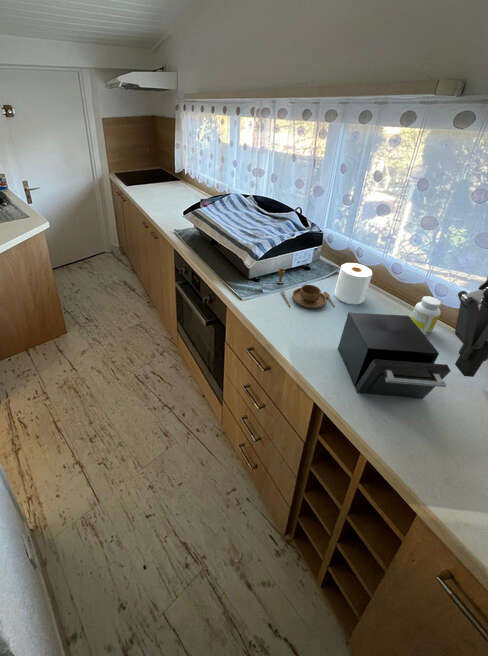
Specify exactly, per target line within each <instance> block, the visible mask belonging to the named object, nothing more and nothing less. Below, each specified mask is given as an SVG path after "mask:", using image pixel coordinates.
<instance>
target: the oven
mask: <svg viewBox="0 0 488 656" xmlns="http://www.w3.org/2000/svg"><path fill="white" fill-rule="evenodd" d="M337 350H338V352H339V354H340V357H341V359H342V362H343V364H344V366H345V368H346V371H347V373H348V376H349V378H350V380H351V383H352V385H353V387H354V388H355V387H356V385H357V384H358V382H359V381H360V379H361V378H362V376H363V375H364V373H365V372H366V370H367V368H368V367H369V365H370V364H371V362H372V361H373V359H378V360H392V361H405V362H418V363H431V364H436V361H437V359H438V357H439V356H440V353H439V351H438V350H437V348H436V347H435V346H434V345H433V343H431V341H430V340H429V339H428V338H427V335H424V334H423V333H422V332H421V330H420V329H419V328H418V327H417V325H416V324H415V323H414V322H413V320H412V319H411V316H410V315H403V314H402V315H401V314H384V313H371V312H370V313H368V312H367V313H366V312H353V311H351V312H350V311H349V312H348V313H347V315H346V319H345V323H344V326H343V329H342V333H341V336H340V340H339V343H338V347H337Z"/></svg>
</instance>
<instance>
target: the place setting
mask: <svg viewBox="0 0 488 656" xmlns="http://www.w3.org/2000/svg"><path fill="white" fill-rule="evenodd" d="M277 273H278V274H277V275H278V276H279V278H278V280H279V282H282V281H283V277H284V276H285V273H286V270H285V269H284V268H279V269H278V271H277ZM280 294H281V296H282V297H283V298H284V300H285V301H286V304H287V306H288V307H289V308H291V305H290V303H289V301H288V299H287V296H286V292H285V290H280ZM292 299H293V300H294V302H295V303H296V304H298V305H299V306H301V307H304V308H306V309H307V308H308V309H314V310H315V309H319V308H322V307H324V306H325V305H326V303H327V299H328V301H329V302H330V304H331V306H332V307H333V308H335V307H336V305H335V304H334V303H333V301H332V300H331V298H330V294H329V293H328V292H326V291H324V292H322V290H321V289H320V288H319V287H318V286H317V285H313V284H303V285H302V286H301V287H299V288H295V289H294V290H293V291H292Z"/></svg>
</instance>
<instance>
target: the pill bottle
mask: <svg viewBox="0 0 488 656" xmlns="http://www.w3.org/2000/svg"><path fill="white" fill-rule="evenodd" d="M441 305H442V302H441V300H439V299H438V298H436V297H433V296H430V295H426V296H425V295H424V296H423V297H422V298H421V300H420V302H417V303H416V305H415V306H414V308H413V311H412V313H411V315H410V318H411V319H412V320H413V322H414V323H415V324H416V325H417V327H418V328H419V329H420V330H421V332H422V333H423V334H424V335H425V336H428V335H431V334H432V333H433V331H434V328H435V326H436V324H437V322H438V321H439V318H440V315H441V312H442V311H441V309H440V307H441Z"/></svg>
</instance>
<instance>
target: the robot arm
mask: <svg viewBox="0 0 488 656" xmlns="http://www.w3.org/2000/svg"><path fill="white" fill-rule="evenodd" d="M457 297H458V300H459V302H460V303H459V308H458V313H457V319H456V325H455V329H454V330H455V331H454V335H455V336H456V337H457V338H458V340H460V342H461V343H462V345H461V347H460V349H459V350H458V355H459V356H458V358H457V359H456V361H455V363H454V365H455V367H456V368H457V369H458V370H459V372H460V373H461V375H462V376H463V377H468V378H469V377H470V378H474V377H475V375H476V373H477V372H478V371H479V369H480V368H481V366H482V364H483V363H484V362H486V361H488V277H487V278H486V280H485V281H483V282H482V283H481V284H480V285H479V286H478V289H476V290H473V291H471V292H467V291H466V290H461V291H459V292H458V293H457Z"/></svg>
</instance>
